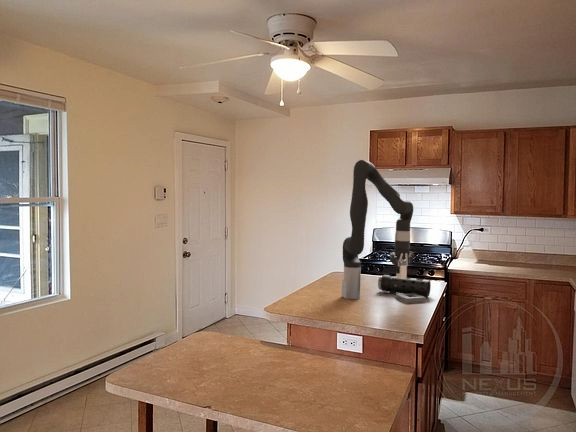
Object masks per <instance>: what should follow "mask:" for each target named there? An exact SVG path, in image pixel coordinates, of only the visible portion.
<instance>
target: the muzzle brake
mask: <svg viewBox="0 0 576 432" xmlns="http://www.w3.org/2000/svg"><path fill="white" fill-rule="evenodd" d="M431 284H432V283H431V281H430V279H419V278H413V277H407V279H400V278H396V275H395V276H392V275H390V274H382V275H379V276H378V281H377V287H378V289H379V290H380V291H383V292H387V293H388V292H389V293H390V294H393V295H396V294H411V293H416V294H418V295H421V296H424V297H426V299H427V298H428V297H429V296H430V294H431Z"/></svg>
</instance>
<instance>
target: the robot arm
mask: <svg viewBox="0 0 576 432" xmlns="http://www.w3.org/2000/svg"><path fill="white" fill-rule="evenodd" d="M352 174H353V175H352V177H353V181H352V192H351V193H352V194H351V201H350V208H349V217H350V222H351V235H350V236H348V237H346V238H344V240H343V241H342V262H343V279H342V280H341V297H342V298H344V299H346V300H359V299H360V298H361V276H362V275H361V274H362V273H361V271H362V262H361V260H360V259H359V255H361V254H362V253H363V251H364V248H365V229H366V221H367V213H368V206H369V201H368V200H369V199H368V196H367V195H368V194H367V190H366V181H368V182H370V183H372V184H373V185H374V186H375V188H376V189H377V191H378V193H379V194H380V196H381V197H383V199H384V200H386V201H387V203H388V204H389V205H390V207H391V208H392V210H393V211H394V212H395V213H396V214H398V215H400V216H399V218H398V219H397V220H396V222H395V234H394V251H393V252H392V253H389V254H388V255H389V258H390V261H391V263H392V265H394V266H395V273H398V274H399V273H400V262H405V263H407V267H408V266H410V265H412V263H413V260H414V257H415V254H414V253H411V251H410V249H411V222H412V219H413V214H414V205H413V203H412V202H411V201H409V200H403V199H402V198H401V195H400V192H398V191H397V189H395V188H394V187H393V186H392V184H390V183H389V182H388V181H387V180H386V179H385V178H384V177H383V176H382V175H381V173H380V172H379V170H377V168H376V167H375V165H374V164H373V163H372V162H370V161H368V160H365V159H364V160H363V159H361V160H360V159H359V160H357V162H356V163H355V164H354V167H353V173H352Z"/></svg>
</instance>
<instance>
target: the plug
mask: <svg viewBox="0 0 576 432" xmlns="http://www.w3.org/2000/svg"><path fill="white" fill-rule="evenodd" d="M395 273H396V272H395ZM407 273H408V266H407V263H405V262H403V261H401V262H400V273H399V274H398V273H396V275H395V276H396V278H400V279H407V278H408V276H407V275H408V274H407Z"/></svg>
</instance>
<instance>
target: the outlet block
mask: <svg viewBox="0 0 576 432" xmlns="http://www.w3.org/2000/svg"><path fill="white" fill-rule="evenodd" d="M395 296H396V297H395V299H396V300H397V301H400V302H403V303H405V304H414V303H416V302H418V303H426V302H427V298H426V297H424V296H421V295H418V294H416V293H411V294H402V293H396V294H395Z"/></svg>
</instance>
